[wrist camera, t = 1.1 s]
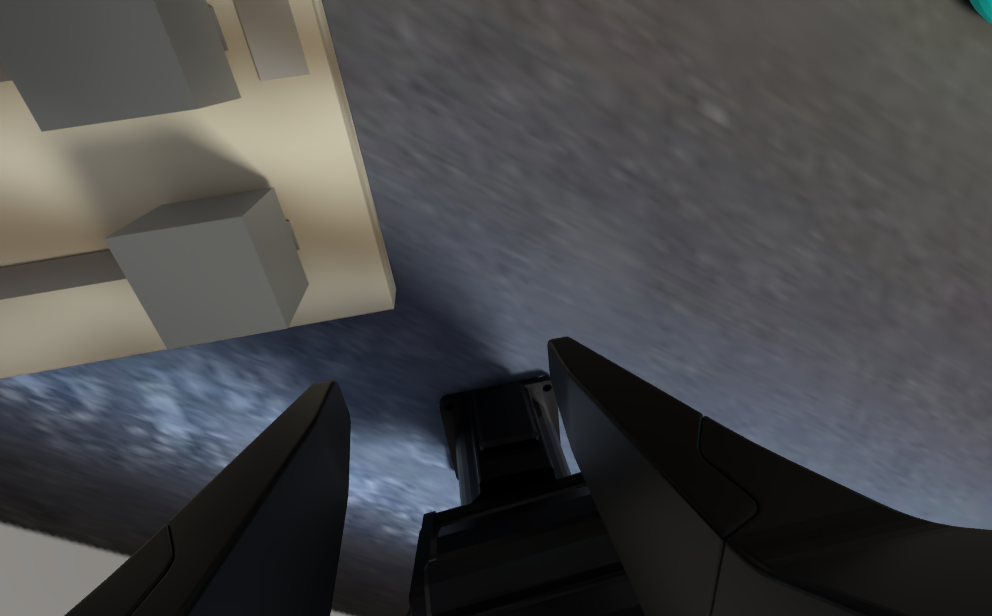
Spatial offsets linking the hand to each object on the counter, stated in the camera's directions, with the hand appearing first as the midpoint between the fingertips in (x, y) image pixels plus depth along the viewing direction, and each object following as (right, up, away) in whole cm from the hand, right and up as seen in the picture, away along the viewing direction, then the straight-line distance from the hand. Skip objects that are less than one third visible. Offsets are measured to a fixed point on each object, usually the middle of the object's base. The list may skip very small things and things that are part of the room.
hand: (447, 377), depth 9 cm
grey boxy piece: (-9, +4, +9) cm, 13 cm away
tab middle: (-10, +10, +5) cm, 15 cm away
